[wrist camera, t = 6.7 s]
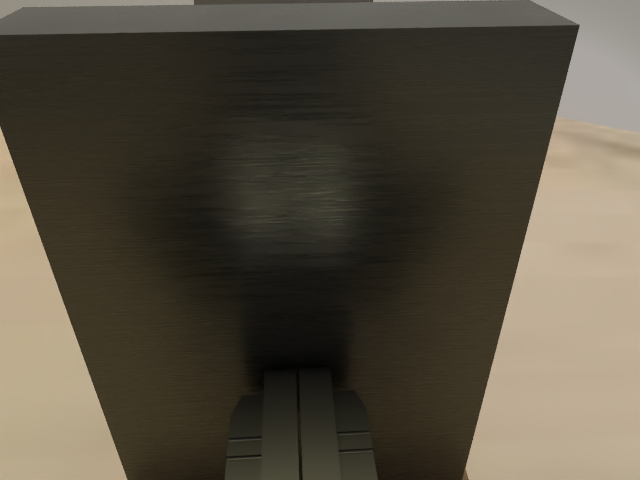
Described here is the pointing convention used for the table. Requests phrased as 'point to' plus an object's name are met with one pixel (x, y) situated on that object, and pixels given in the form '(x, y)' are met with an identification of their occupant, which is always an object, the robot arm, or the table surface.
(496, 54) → the brushed metal plate
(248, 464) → the robot arm
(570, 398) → the table surface
